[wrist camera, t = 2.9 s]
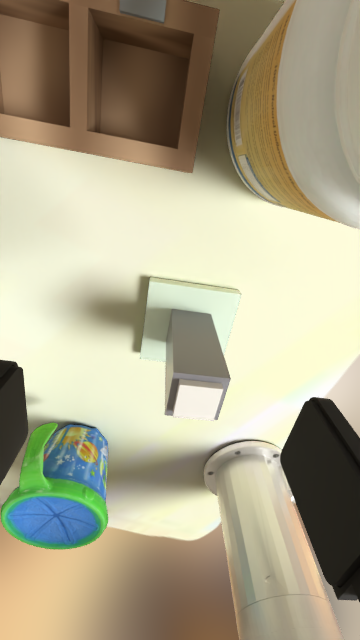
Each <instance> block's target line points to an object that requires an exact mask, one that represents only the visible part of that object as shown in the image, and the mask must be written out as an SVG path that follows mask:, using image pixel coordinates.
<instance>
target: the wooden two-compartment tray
mask: <svg viewBox="0 0 360 640" xmlns="http://www.w3.org/2000/svg"><path fill="white" fill-rule="evenodd" d="M219 11H220V10H219V9H215V8H211V7H208V6H204V5H200V4H196V3H192V2H188V1H185V0H0V137H4V138H9V139H14V140H19V141H25V142H30V143H35V144H40V145H46V146H51V147H56V148H61V149H66V150H72V151H77V152H82V153H87V154H93V155H98V156H103V157H108V158H113V159H119V160H124V161H129V162H134V163H140V164H145V165H150V166H155V167H160V168H166V169H171V170H176V171H181V172H187V173H192V172H193V166H194V160H195V154H196V148H197V142H198V136H199V130H200V124H201V118H202V112H203V106H204V100H205V94H206V88H207V82H208V76H209V70H210V64H211V58H212V52H213V47H214V41H215V35H216V29H217V23H218V17H219Z"/></svg>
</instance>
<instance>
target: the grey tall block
mask: <svg viewBox="0 0 360 640" xmlns="http://www.w3.org/2000/svg"><path fill="white" fill-rule="evenodd" d="M230 379H231V378H230V375H229V372H228V369H227V365H226V362H225V359H224V355H223V352H222V349H221V345H220V342H219V339H218V335H217V332H216V329H215V325H214V322H213V319H212V315H211V314H208V313H200V312H193V311H186V310H178V309H172V310H171V316H170V322H169V327H168V333H167V339H166V377H165V415H170V416H173V417H178V418H188V419H199V420H210V421H214V420H218V417H219V413H220V410H221V407H222V404H223V401H224V398H225V395H226V391H227V388H228V385H229V382H230Z"/></svg>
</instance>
